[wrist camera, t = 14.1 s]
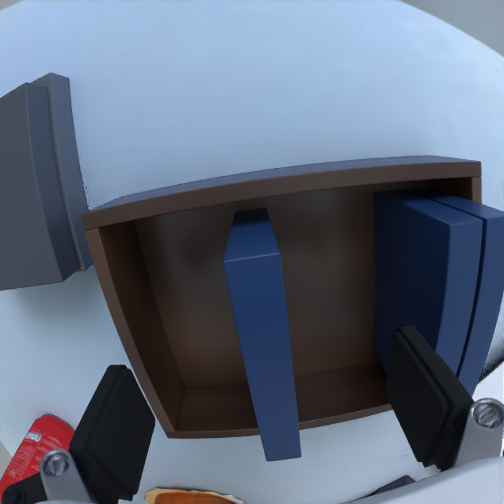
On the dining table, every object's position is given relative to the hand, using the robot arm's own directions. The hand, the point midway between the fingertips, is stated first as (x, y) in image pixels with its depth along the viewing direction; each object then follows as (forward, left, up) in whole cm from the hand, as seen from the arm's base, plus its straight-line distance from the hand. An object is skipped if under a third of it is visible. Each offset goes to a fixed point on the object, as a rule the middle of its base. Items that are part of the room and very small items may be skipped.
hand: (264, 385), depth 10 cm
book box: (0, +2, -8) cm, 8 cm away
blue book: (0, 0, -7) cm, 7 cm away
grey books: (-9, -13, -8) cm, 17 cm away
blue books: (0, +8, -7) cm, 11 cm away
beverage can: (+13, -22, -8) cm, 27 cm away
